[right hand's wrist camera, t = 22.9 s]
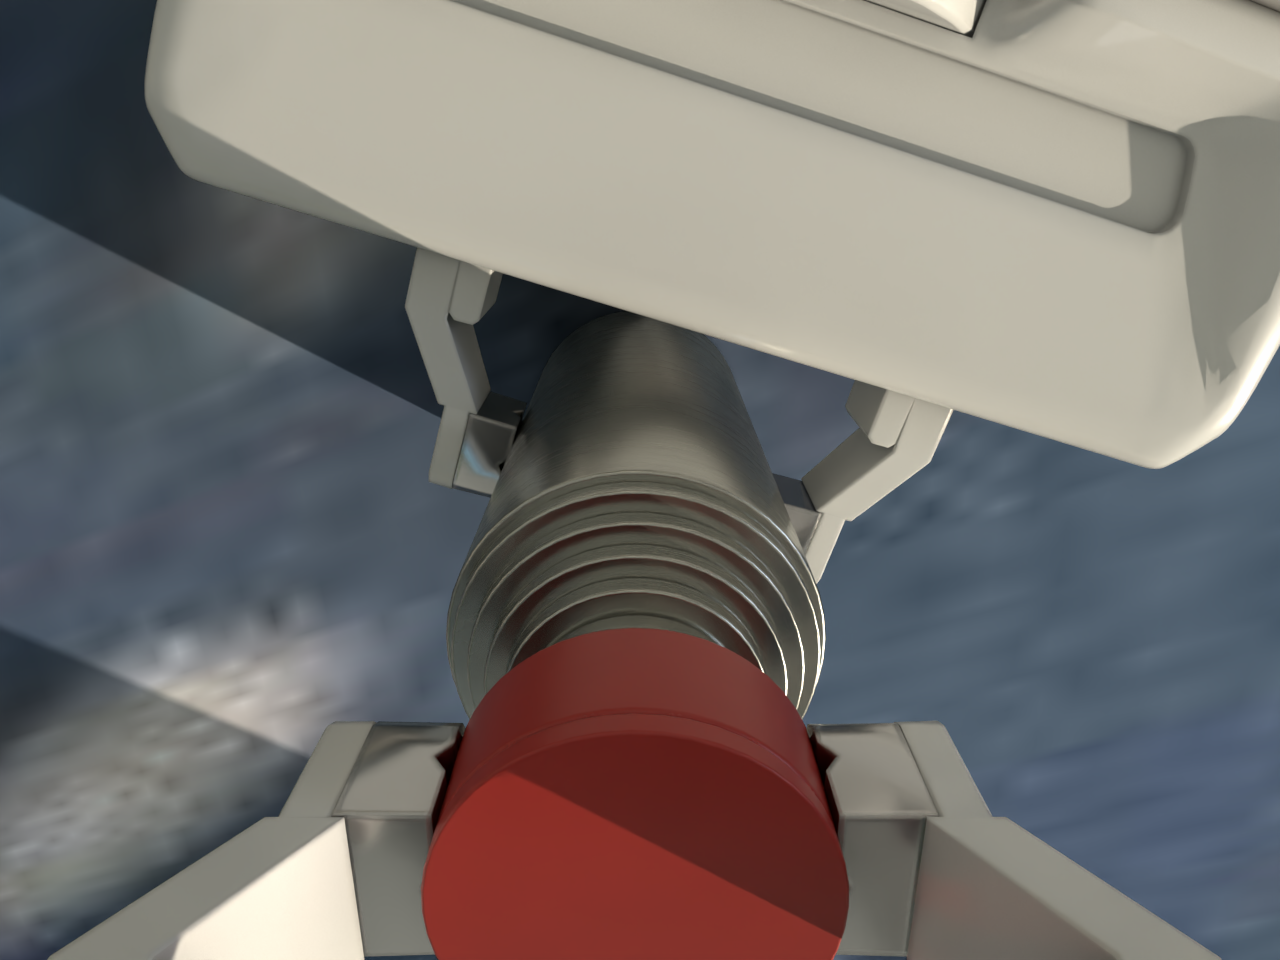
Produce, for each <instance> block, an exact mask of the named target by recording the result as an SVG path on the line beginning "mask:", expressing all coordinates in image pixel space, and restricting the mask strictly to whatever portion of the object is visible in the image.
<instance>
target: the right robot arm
mask: <svg viewBox="0 0 1280 960" xmlns="http://www.w3.org/2000/svg"><path fill="white" fill-rule="evenodd" d="M465 729H466V728H465V726H464V725H463V723H428V722H382V721H379V722H377V723H376V722H374V721H335V722H333V723H332V724H330V725H328V727H327V728H326V729H325V731H324V732H323V734H322V736H321V738H320V740H319V742H318V744H317V745H316V747H315V749H314V751H313V753H312V755H311V757H310V758H309V760H308V762H307V764H306V766H305V768H304V770H303V772H302V773H301V775H300V777H299V779H298V781H297V783H296V785H295V786H294V788H293V790H292V792H291V794H290V796H289V798H288V799H287V801H286V803H285V805H284V807H283V809H282V811H281V812H280V814H279V816H278V817H264V818H263V819H261V820H260V821H258V822H257V823H255V824H253V825H252V826H250V827H249V828H247V829H246V830H244V831H243V832H241V833H240V834H238V835H236V836H235V837H233V838H232V839H230V840H229V841H227V842H226V843H224V844H223V845H221V846H219V847H218V848H216V849H215V850H213V851H212V852H210V853H209V854H207V855H206V856H204V857H202V858H201V859H199V860H198V861H196V862H195V863H193V864H192V865H190V866H188V867H187V868H185V869H184V870H182V871H181V872H179V873H178V874H176V875H175V876H173V877H171V878H170V879H168V880H167V881H165V882H164V883H162V884H161V885H159V886H158V887H156V888H154V889H153V890H151V891H150V892H148V893H147V894H145V895H144V896H142V897H141V898H139V899H137V900H136V901H134V902H133V903H131V904H130V905H128V906H127V907H125V908H123V909H122V910H120V911H119V912H117V913H116V914H114V915H113V916H111V917H110V918H108V919H106V920H105V921H103V922H102V923H100V924H99V925H97V926H96V927H94V928H93V929H91V930H89V931H88V932H86V933H85V934H83V935H82V936H80V937H79V938H77V939H75V940H74V941H72V942H71V943H69V944H68V945H66V946H65V947H63V948H62V949H60V950H58V951H57V952H55V953H54V954H52V955H51V956H50V957H49V958H48V959H47V960H364V956H398V955H432V954H434V951H433V948H432V946H431V943H430V941H429V938H428V936H427V932H426V928H425V923H424V918H423V914H422V902H421V885H422V877H423V869H424V865H425V861H426V858H427V855H428V851H429V848H430V845H431V841H432V838H433V835H434V832H435V828H436V825H437V821H438V818H439V815H440V811H441V808H442V805H443V801H444V798H445V795H446V791H447V787H448V784H449V781H450V777H451V774H452V771H453V767H454V764H455V761H456V758H457V754H458V751H459V747H460V744H461V741H462V737H463V734H464V731H465ZM807 732H808V735H809V738H810V742H811V745H812V749H813V752H814V756H815V759H816V763H817V766H818V769H819V772H820V775H821V779H822V782H823V786H824V791H825V794H826V798H827V801H828V805H829V808H830V812H831V815H832V819H833V822H834V826H835V831H836V834H837V837H838V840H839V842H840V845H841V849H842V852H843V856H844V859H845V863H846V869H847V875H848V881H849V910H848V915H847V921H846V927H845V931H844V934H843V936H842V939H841V942H840V945H839V948H838V951H837V952H836V954H837V955H872V956H907V960H1222V959H1221V958H1220V957H1219V956H1217V955H1216V954H1214V953H1212V952H1211V951H1209V950H1208V949H1206V948H1205V947H1203V946H1202V945H1200V944H1199V943H1197V942H1196V941H1194V940H1193V939H1191V938H1190V937H1188V936H1187V935H1185V934H1183V933H1182V932H1180V931H1179V930H1177V929H1176V928H1174V927H1173V926H1171V925H1170V924H1168V923H1167V922H1165V921H1164V920H1162V919H1161V918H1159V917H1158V916H1156V915H1154V914H1153V913H1151V912H1150V911H1148V910H1147V909H1145V908H1144V907H1142V906H1141V905H1139V904H1138V903H1136V902H1135V901H1133V900H1132V899H1130V898H1129V897H1127V896H1125V895H1124V894H1122V893H1121V892H1119V891H1118V890H1116V889H1115V888H1113V887H1112V886H1110V885H1109V884H1107V883H1106V882H1104V881H1103V880H1101V879H1100V878H1098V877H1096V876H1095V875H1093V874H1092V873H1090V872H1089V871H1087V870H1086V869H1084V868H1083V867H1081V866H1080V865H1078V864H1077V863H1075V862H1074V861H1072V860H1070V859H1069V858H1067V857H1066V856H1064V855H1063V854H1061V853H1060V852H1058V851H1057V850H1055V849H1054V848H1052V847H1051V846H1049V845H1048V844H1046V843H1045V842H1043V841H1041V840H1040V839H1038V838H1037V837H1035V836H1034V835H1032V834H1031V833H1029V832H1028V831H1026V830H1025V829H1023V828H1022V827H1020V826H1019V825H1017V824H1016V823H1014V822H1012V821H1011V820H1009V819H1008V818H1006V817H992V815H991V813H990V811H989V809H988V807H987V805H986V803H985V802H984V800H983V798H982V796H981V794H980V792H979V790H978V788H977V786H976V785H975V783H974V781H973V779H972V777H971V775H970V773H969V771H968V769H967V768H966V766H965V764H964V762H963V760H962V758H961V756H960V754H959V753H958V751H957V749H956V747H955V745H954V743H953V741H952V739H951V737H950V736H949V734H948V732H947V730H946V728H945V726H944V725H943V724H941V723H940V722H938V721H913V722H894V723H878V724H808V725H807Z"/></svg>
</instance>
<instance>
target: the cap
mask: <svg viewBox="0 0 1280 960" xmlns="http://www.w3.org/2000/svg"><path fill="white" fill-rule="evenodd" d="M421 902H422V914H423V918H424V923H425V928H426V932H427V936H428V938H429V941H430V943H431V946H432V948H433V951H434V954H435V955H436V957H437V959H438V960H833V958H834V956H835V954H836V952H837V951H838V948H839V945H840V942H841V939H842V936H843V934H844V931H845V927H846V921H847V915H848V910H849V881H848V875H847V869H846V863H845V859H844V856H843V852H842V849H841V845H840V842H839V840H838V837H837V834H836V831H835V826H834V822H833V819H832V815H831V812H830V808H829V805H828V801H827V798H826V794H825V791H824V786H823V782H822V779H821V775H820V772H819V769H818V766H817V763H816V759H815V756H814V752H813V749H812V745H811V742H810V738H809V735H808V732H807V729H806V727H805V725H804V723H803V721H802V719H801V717H800V715H799V713H798V711H797V710H796V708H795V707H794V705H793V704H792V702H791V701H790V700H789V698H788V697H787V696H786V694H785V693H784V692H783V691H782V690H781V689H780V688H779V687H778V686H777V684H776V683H775V682H774V681H773V680H772V679H771V678H770V677H769V676H768V675H766V674H765V673H764V672H762V671H761V670H760V669H758V668H757V667H756V666H755V665H753V664H752V663H751V662H749V661H748V660H746V659H744V658H743V657H741V656H740V655H737V654H736V653H735V652H732V651H730V650H729V649H727V648H724V647H722V646H720V645H717V644H715V643H713V642H710V641H708V640H705V639H702V638H698V637H695V636H691V635H688V634H684V633H680V632H675V631H669V630H662V629H649V628H623V629H608V630H603V631H597V632H591V633H587V634H583V635H580V636H576V637H573V638H570V639H567V640H564V641H561V642H558V643H556V644H554V645H552V646H550V647H547V648H545V649H543V650H541V651H539V652H537V653H536V654H534V655H532V656H531V657H529V658H527V659H526V660H524V661H523V662H521V663H519V664H518V665H517V666H515V667H514V668H513V669H512V670H511V671H509V672H508V673H507V674H506V675H504V676H503V677H502V678H501V679H500V680H499V681H498V682H497V683H496V684H495V685H494V686H493V687H492V688H491V689H490V690H489V692H488V693H487V694H486V695H485V696H484V698H483V699H482V701H481V702H480V703H479V705H478V706H477V708H476V709H475V711H474V712H473V714H472V716H471V718H470V720H469V722H468V725H467V727H466V729H465V731H464V734H463V737H462V741H461V744H460V747H459V751H458V754H457V758H456V761H455V764H454V767H453V771H452V774H451V777H450V781H449V784H448V787H447V791H446V795H445V798H444V801H443V805H442V808H441V811H440V815H439V818H438V821H437V825H436V828H435V832H434V835H433V838H432V841H431V845H430V848H429V851H428V855H427V858H426V861H425V865H424V869H423V877H422V885H421Z"/></svg>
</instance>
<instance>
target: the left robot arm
mask: <svg viewBox="0 0 1280 960" xmlns="http://www.w3.org/2000/svg"><path fill="white" fill-rule="evenodd" d="M144 85H145V101H146V106H147V109H148V111H149V113H150V115H151V117H152V119H153V121H154V123H155V125H156V127H157V129H158V131H159V133H160V134H161V136H162V138H163V140H164V142H165V144H166V146H167V148H168V150H169V152H170V153H171V155H172V157H173V159H174V160H175V162H176V164H177V165H178V167H179V168H180V170H181V171H182V172H183V173H184V174H185V175H187V176H189V177H190V178H192V179H194V180H197V181H200V182H203V183H206V184H209V185H212V186H216V187H219V188H222V189H226V190H229V191H232V192H235V193H239V194H242V195H245V196H249V197H252V198H255V199H259V200H262V201H265V202H269V203H272V204H275V205H278V206H282V207H285V208H288V209H292V210H295V211H298V212H302V213H305V214H308V215H312V216H315V217H318V218H322V219H325V220H328V221H331V222H335V223H338V224H341V225H345V226H348V227H351V228H355V229H358V230H361V231H365V232H368V233H371V234H374V235H378V236H381V237H384V238H388V239H391V240H394V241H398V242H401V243H404V244H408V245H411V246H414V247H417V250H416V255H415V260H414V265H413V269H412V274H411V279H410V284H409V289H408V293H407V298H406V303H405V309H406V312H407V314H408V317H409V320H410V323H411V326H412V329H413V332H414V335H415V338H416V341H417V344H418V346H419V349H420V352H421V355H422V358H423V361H424V364H425V367H426V370H427V373H428V376H429V378H430V381H431V384H432V387H433V390H434V393H435V396H436V399H437V402H438V404H441V405H444V410H443V414H442V418H441V423H440V427H439V431H438V436H437V440H436V444H435V449H434V453H433V457H432V461H431V466H430V470H429V482H431V483H435V484H438V485H441V486H444V487H447V488H451V489H452V488H454V489H458V490H462V491H466V492H470V493H474V494H478V495H482V496H486V497H490V498H491V496H492V493H493V491H494V489H495V486H496V484H497V481H498V479H499V476H500V474H501V472H502V469H503V467H504V464H505V462H506V459H507V457H508V455H509V452H510V450H511V447H512V445H513V442H514V440H515V438H516V435H517V433H518V430H519V428H520V425H521V423H522V420H523V416H524V412H525V408H526V404H527V403H526V402H523V401H520V400H516V399H513V398H510V397H507V396H504V395H500V394H497V393H494V392H491V391H490V390H491V388H490V384H489V381H488V377H487V374H486V370H485V366H484V363H483V359H482V356H481V352H480V348H479V345H478V341H477V338H476V334H475V330H474V327H473V324H475V323H477V322H478V321H479V320H480V319H481V318H482V317H483V316H484V315H485V314H486V312H487V311H488V310H489V309H490V308H491V307H492V306H493V305H494V304H495V302H496V299H497V295H498V291H499V287H500V283H501V279H502V275H503V274H507V275H510V276H513V277H517V278H520V279H523V280H527V281H530V282H533V283H537V284H540V285H543V286H546V287H550V288H553V289H556V290H560V291H563V292H566V293H570V294H573V295H576V296H580V297H583V298H586V299H590V300H593V301H596V302H599V303H603V304H606V305H609V306H613V307H616V308H619V309H623V310H626V311H629V312H633V313H636V314H639V315H642V316H646V317H649V318H652V319H656V320H659V321H662V322H666V323H669V324H672V325H676V326H679V327H682V328H685V329H689V330H692V331H695V332H699V333H702V334H705V335H709V336H712V337H715V338H719V339H722V340H725V341H728V342H732V343H735V344H738V345H742V346H745V347H748V348H752V349H755V350H758V351H762V352H765V353H768V354H771V355H775V356H778V357H781V358H785V359H788V360H791V361H795V362H798V363H801V364H805V365H808V366H811V367H814V368H818V369H821V370H824V371H828V372H831V373H834V374H838V375H841V376H844V377H848V378H851V379H854V380H855V382H854V384H853V387H852V390H851V392H850V395H849V397H848V400H847V403H846V405H845V407H846V410H847V412H848V413H849V415H850V416H851V417H852V419H853V420H854V421H855V422H856V424H857V425H858V426H859V429H858V430H856V431H855V432H854V433H853V434H852V435H851V436H849V437H848V438H847V439H846V440H845V441H844V442H843V443H841V444H840V445H839V446H838V447H837V448H836V449H835V450H833V451H832V452H831V453H830V454H829V455H828V456H827V457H825V458H824V459H823V460H822V461H821V462H820V463H819V464H817V465H816V466H815V467H814V468H813V469H812V470H811V471H809V472H808V473H807V474H806V475H805V476H804V477H803V478H802V481H800V480H796V479H792V478H788V477H785V476H781V475H777V474H773V473H772V474H773V477H774V479H775V482H776V484H777V487H778V489H779V492H780V494H781V497H782V499H783V502H784V504H785V507H786V509H787V512H788V514H789V517H790V519H791V522H792V524H793V527H794V529H795V532H796V534H797V537H798V539H799V542H800V544H801V547H802V549H803V552H804V554H805V557H806V559H807V562H808V564H809V567H810V569H811V572H812V574H813V577H814V579H815V582H816V584H817V583H818V581H819V580H820V578H821V576H822V574H823V571H824V569H825V567H826V564H827V562H828V560H829V557H830V555H831V552H832V550H833V548H834V545H835V543H836V540H837V538H838V536H839V533H840V531H841V529H842V526H843V524H844V521H845V520H848V521H852V520H853V519H855V518H856V517H857V516H859V515H860V514H861V513H863V512H864V511H865V510H867V509H868V508H869V507H871V506H872V505H873V504H875V503H876V502H877V501H879V500H880V499H881V498H883V497H884V496H885V495H887V494H888V493H889V492H891V491H892V490H893V489H895V488H896V487H897V486H899V485H900V484H901V483H903V482H904V481H905V480H907V479H908V478H909V477H911V476H912V475H914V474H915V473H916V472H918V471H919V470H920V469H922V468H923V467H924V466H926V465H927V464H928V463H930V461H931V459H932V457H933V454H934V452H935V450H936V448H937V445H938V443H939V441H940V439H941V437H942V434H943V432H944V430H945V428H946V425H947V423H948V421H949V419H950V416H951V414H952V412H953V410H957V411H960V412H963V413H967V414H970V415H973V416H977V417H980V418H983V419H987V420H990V421H993V422H996V423H1000V424H1003V425H1006V426H1010V427H1013V428H1016V429H1020V430H1023V431H1026V432H1030V433H1033V434H1036V435H1039V436H1043V437H1046V438H1049V439H1053V440H1056V441H1059V442H1063V443H1066V444H1069V445H1073V446H1076V447H1079V448H1082V449H1086V450H1089V451H1092V452H1096V453H1099V454H1102V455H1106V456H1109V457H1112V458H1116V459H1119V460H1122V461H1125V462H1129V463H1132V464H1135V465H1139V466H1142V467H1146V468H1153V469H1158V468H1163V467H1166V466H1168V465H1170V464H1172V463H1174V462H1176V461H1178V460H1180V459H1181V458H1183V457H1185V456H1187V455H1188V454H1190V453H1192V452H1194V451H1195V450H1197V449H1199V448H1200V447H1202V446H1204V445H1205V444H1207V443H1209V442H1210V441H1212V440H1214V439H1215V438H1217V437H1219V436H1220V435H1221V434H1222V433H1223V432H1225V431H1226V430H1227V429H1228V427H1229V426H1230V425H1231V424H1232V423H1233V422H1234V420H1235V419H1236V418H1237V416H1238V415H1239V413H1240V412H1241V410H1242V409H1243V407H1244V406H1245V404H1246V403H1247V401H1248V400H1249V398H1250V396H1251V395H1252V393H1253V391H1254V390H1255V388H1256V386H1257V385H1258V383H1259V381H1260V379H1261V377H1262V376H1263V374H1264V372H1265V370H1266V368H1267V367H1268V365H1269V363H1270V361H1271V360H1272V358H1273V356H1274V354H1275V352H1276V351H1277V349H1278V347H1279V345H1280V0H157V3H156V8H155V13H154V19H153V25H152V31H151V37H150V44H149V50H148V56H147V64H146V73H145V82H144Z"/></svg>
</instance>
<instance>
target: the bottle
mask: <svg viewBox="0 0 1280 960" xmlns="http://www.w3.org/2000/svg"><path fill="white" fill-rule="evenodd" d="M623 628H649V629H662V630H669V631H675V632H680V633H684V634H688V635H691V636H695V637H698V638H702V639H705V640H708V641H710V642H713V643H715V644H717V645H720V646H722V647H724V648H727V649H729V650H730V651H732V652H735V653H736V654H737V655H740V656H741V657H743V658H744V659H746V660H748V661H749V662H751V663H752V664H753V665H755V666H756V667H757V668H758V669H760V670H761V671H762V672H764V673H765V674H766V675H768V676H769V677H770V678H771V679H772V680H773V681H774V682H775V683H776V684H777V686H778V687H779V688H780V689H781V690H782V691H783V692H784V693H785V694H786V696H787V697H788V698H789V700H790V701H791V702H792V704H793V705H794V707H795V708H796V710H797V711H798V713H799V715H800V717H801V719H803V717H804V715H805V713H806V711H807V709H808V706H809V704H810V701H811V699H812V696H813V694H814V691H815V687H816V685H817V682H818V680H819V676H820V672H821V668H822V664H823V659H824V651H825V639H826V633H825V617H824V611H823V606H822V601H821V597H820V593H819V590H818V587H817V585H816V582H815V579H814V577H813V574H812V572H811V569H810V567H809V564H808V562H807V559H806V557H805V554H804V552H803V549H802V547H801V544H800V542H799V539H798V537H797V534H796V532H795V529H794V527H793V524H792V522H791V519H790V517H789V514H788V512H787V509H786V507H785V504H784V502H783V499H782V497H781V494H780V492H779V489H778V487H777V484H776V482H775V479H774V477H773V474H772V472H771V469H770V467H769V464H768V462H767V459H766V457H765V455H764V452H763V450H762V447H761V445H760V442H759V440H758V437H757V435H756V432H755V430H754V427H753V425H752V422H751V420H750V417H749V415H748V412H747V410H746V407H745V405H744V402H743V400H742V397H741V395H740V392H739V390H738V387H737V385H736V382H735V380H734V377H733V375H732V372H731V370H730V368H729V366H728V364H727V362H726V360H725V359H724V357H723V355H722V354H721V353H720V351H719V350H718V349H717V347H716V346H715V345H714V344H713V343H712V342H711V341H710V340H709V339H708V338H707V337H706V336H705V335H704V334H702V333H699V332H695V331H692V330H689V329H685V328H682V327H679V326H676V325H672V324H669V323H666V322H662V321H659V320H656V319H652V318H649V317H646V316H642V315H639V314H636V313H633V312H629V311H623V312H616V313H612V314H608V315H604V316H602V317H599V318H597V319H594V320H592V321H590V322H588V323H586V324H585V325H583V326H581V327H579V328H578V329H577V330H575V331H574V332H573V333H571V334H570V335H569V336H568V337H567V338H566V339H565V340H564V341H563V342H562V343H561V344H560V345H559V346H558V347H557V348H556V350H555V351H554V352H553V354H552V355H551V356H550V358H549V360H548V362H547V364H546V365H545V367H544V369H543V372H542V374H541V377H540V379H539V382H538V384H537V386H536V389H535V391H534V394H533V396H532V399H531V401H530V403H529V406H528V408H527V411H526V413H525V416H524V418H523V420H522V423H521V425H520V428H519V430H518V433H517V435H516V438H515V440H514V442H513V445H512V447H511V450H510V452H509V455H508V457H507V459H506V462H505V464H504V467H503V469H502V472H501V474H500V476H499V479H498V481H497V484H496V486H495V489H494V491H493V493H492V496H491V498H490V501H489V503H488V506H487V508H486V510H485V513H484V515H483V518H482V520H481V523H480V525H479V528H478V530H477V532H476V535H475V537H474V540H473V542H472V545H471V547H470V549H469V552H468V554H467V557H466V559H465V562H464V564H463V566H462V569H461V571H460V574H459V576H458V579H457V582H456V584H455V587H454V589H453V592H452V596H451V601H450V605H449V610H448V616H447V630H446V640H447V652H448V660H449V664H450V668H451V672H452V677H453V680H454V682H455V685H456V687H457V692H458V694H459V697H460V699H461V702H462V704H463V707H464V709H465V712H466V714H467V715H468V717H469V719H470V718H471V716H472V714H473V712H474V711H475V709H476V708H477V706H478V705H479V703H480V702H481V701H482V699H483V698H484V696H485V695H486V694H487V693H488V692H489V690H490V689H491V688H492V687H493V686H494V685H495V684H496V683H497V682H498V681H499V680H500V679H501V678H502V677H503V676H504V675H506V674H507V673H508V672H509V671H511V670H512V669H513V668H514V667H515V666H517V665H518V664H519V663H521V662H523V661H524V660H526V659H527V658H529V657H531V656H532V655H534V654H536V653H537V652H539V651H541V650H543V649H545V648H547V647H550V646H552V645H554V644H556V643H558V642H561V641H564V640H567V639H570V638H573V637H576V636H580V635H583V634H587V633H591V632H597V631H603V630H608V629H623Z"/></svg>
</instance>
